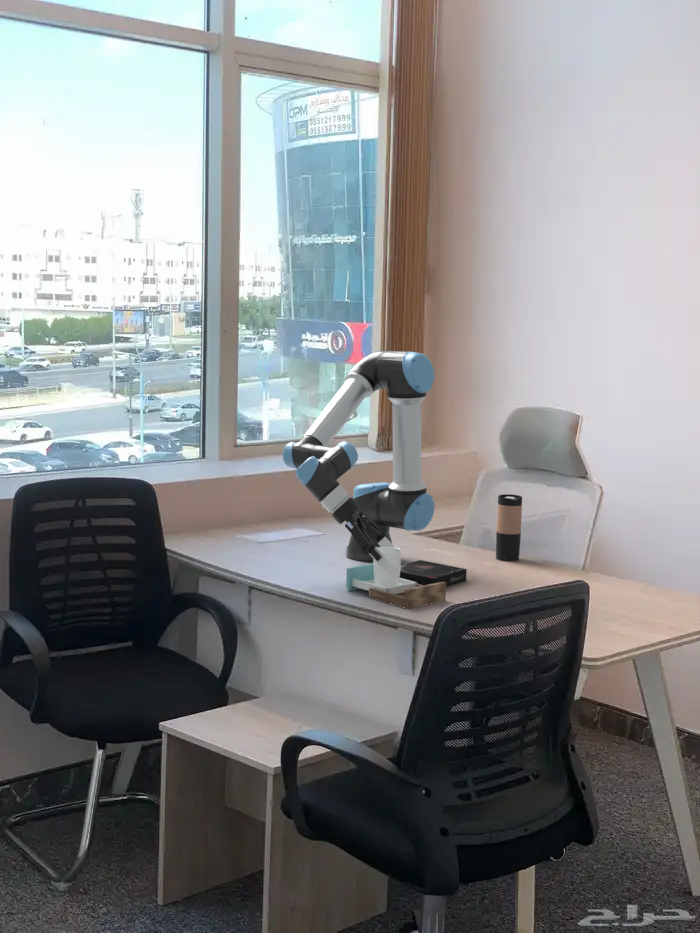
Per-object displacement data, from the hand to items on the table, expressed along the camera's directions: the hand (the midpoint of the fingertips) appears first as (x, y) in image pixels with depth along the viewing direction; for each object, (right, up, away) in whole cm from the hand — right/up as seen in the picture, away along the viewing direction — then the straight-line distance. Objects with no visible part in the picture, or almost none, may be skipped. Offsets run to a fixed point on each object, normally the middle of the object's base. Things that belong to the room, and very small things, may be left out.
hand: (393, 562), depth 319 cm
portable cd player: (+10, -7, +17) cm, 21 cm away
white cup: (-2, -7, +1) cm, 7 cm away
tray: (-3, -8, +2) cm, 9 cm away
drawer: (+4, -9, -5) cm, 11 cm away
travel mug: (+38, -3, +48) cm, 61 cm away
